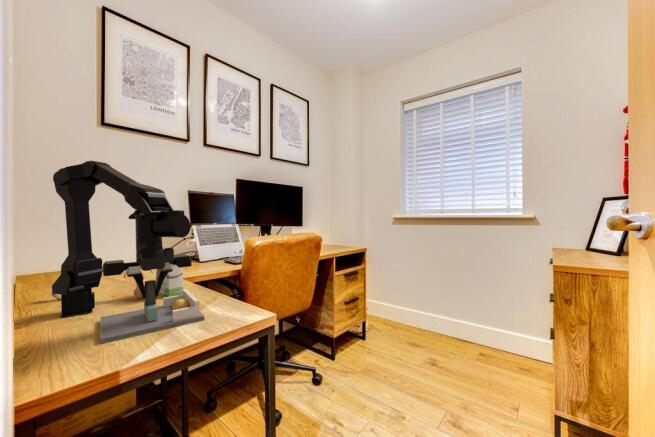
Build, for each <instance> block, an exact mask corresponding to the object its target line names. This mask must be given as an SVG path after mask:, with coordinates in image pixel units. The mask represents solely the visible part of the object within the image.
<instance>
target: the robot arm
mask: <svg viewBox="0 0 655 437" xmlns="http://www.w3.org/2000/svg"><path fill="white" fill-rule="evenodd" d="M52 181H53V183H54V188H55V192H56V194H57V195H58V196H59V197H60V198H61V199H62V200H63V203H64V207H65V209H64V210H65V222H66V223H65V224H66V240H67V241H66V242H67V250H68V251H67V252H68V253H67V254H68V255H67V256H66V258H65V260H63V262H62V264H61V265H60V275H59V276H58V278H57V279H56V280H55V282H53V284H52V285H51V292H52V291H53V294H56V295H60V297H61V300H60V302H61V304H60V305H61V307H60V308H61V310H60V312H61V313H60V316H59V317H60V318H67V317H72V316H78V315H79V316H80V315H85V314H89V313H93V309H95V307H96V304H95V303H96V302H95V301H96V299H95V298H96V297H95V294H96V293H95V291H93V289H94V288H98V287H99V286H100V283H101V280H102V276H103V277H111V276H113V277H114V276H120V275H122V274H123V273H125V271H127V272H126V276H127V277H128V278H132V277H133V280H134V281H136V282H135V284H136V283H137V285H138V287H139V289H140V292H141V294H142V297H143V298H142V299H143V300H145V288H144V286H145V281H144V280H143V275H144V273H143V274H142V272H141V271H145V272H148V271H150V270H156V273H155V281H156V298H157V297H158V296H159V294H160V289H161V286H162V283H163V281H164V279H165V277H166V275H167V274H168V273H169V272H172V271H173V269H171V267H172V265H176V266H178V267H179V268H182V267H183V268H187V267H188V268H189V267H192V264H193V263H192V262H193V261H192V257H191V256H189V255H188V254H186V253H183V254H175V249H174V247H163V238H178V239H179V238H181V239H182V238H185V237H187V236H188V235H189V234H190V231H191V225H192V223H191V222H190V220H189V218H188V216H187V215H185V210H183V209H182V210H181V209H180V210H178V209H177V210H176V209H174V207H173V206H172V205H171V203H170V201H169V200H168V198H167V197H166V193H165V191H164V190H163V189H160V188H157V187H155V186H151V185H147V184H143V183H140V182H138V181H136V180H134V179H132V178H131V177H129V176H127V175H126V174H124V173H122V172H121V171H119V170H117V169H116V168H113V167H112V166H111V165H110V164H108V163H106V162H102V161H96V160H87V161H86V160H85V161H84V162H82V163H79V164H74V165H70V166H69V165H68V166H65V167H62V168H59V169H58V170H57V171H55V172H54V173H53V176H52ZM100 184H104V185H106V186H108V187H109V188H111V189H112V190H114V191H116V192H118V193H119V194H121V195H122V196H123V197H124V202H126V203H127V204H128V205H129V206H130V207H131V208H132V209H134V211H133V212H132V213H130V215H128V220H134V221H135V223H134V224H135V260H136V261H130V262H125V261H124V259H117V260H106V261H104V262H103V259H102V257H97V256H96V254H94V253H93V245H92V244H93V243H92V230H91V214H90V213H91V212H90V200H91V199H92V198H93V196H94V195H95V193H96V187H97V186H99V185H100ZM137 285H136V286H137Z"/></svg>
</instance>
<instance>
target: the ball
mask: <svg viewBox="0 0 655 437" xmlns="http://www.w3.org/2000/svg"><path fill="white" fill-rule="evenodd" d="M187 307H189V305H188V302H187V301H186V300H184V299H179V300H176V301H175V302H174V303H173V305H172V310H177V309H182V308H187Z"/></svg>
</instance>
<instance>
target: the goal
mask: <svg viewBox="0 0 655 437" xmlns="http://www.w3.org/2000/svg"><path fill="white" fill-rule="evenodd" d="M182 291H183V294H180V295H175V296H171V297H168V296H166V297H163V298H162V299H163V302H162V304H163V305H162V306H163V307H169V306H172V305H173V303H174V302H175V301H176V300H179V299H184V300H186V301H187V302H188V305H189V307H187V308H182V309H177V310H172V315H173V322H174V321H178V320H183V319H187V318H192V317H196V316H199V311H200V300H199V299H198V298H197V297H196V296H194V295H193V294H192V293H191V292H190V291H189V290H188V289H187V288H183V290H182Z"/></svg>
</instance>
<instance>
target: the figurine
mask: <svg viewBox="0 0 655 437" xmlns="http://www.w3.org/2000/svg"><path fill="white" fill-rule="evenodd" d="M152 270H153V269H152ZM152 270H149V271H150V273H151V274H154V273H153V271H152ZM140 271H141V272H142V274H143V281H144V279H145V276H144V272H143V270H140ZM126 272H127V271H126V270H124V276H123V279H126V278H127V277H128V276H127V274H126ZM134 281H135V280H134ZM135 284H136V287H135V289H133V296H134V297H135V298H136V299H143V297H142V294H141V292H140V289H139V287H138V285H137V283H136V281H135ZM144 288H145V285H144Z"/></svg>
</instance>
